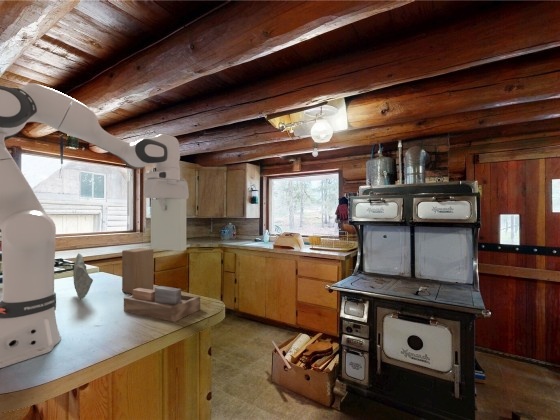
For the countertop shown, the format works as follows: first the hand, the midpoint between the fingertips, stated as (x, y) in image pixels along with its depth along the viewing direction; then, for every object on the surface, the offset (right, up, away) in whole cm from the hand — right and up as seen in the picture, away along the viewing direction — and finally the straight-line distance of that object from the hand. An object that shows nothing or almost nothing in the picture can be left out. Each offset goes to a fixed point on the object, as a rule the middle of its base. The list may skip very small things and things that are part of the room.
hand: (168, 210), depth 112 cm
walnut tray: (-1, -39, -3) cm, 39 cm away
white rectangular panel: (0, -16, 0) cm, 16 cm away
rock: (-42, -39, +10) cm, 59 cm away
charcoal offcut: (+3, -39, -8) cm, 40 cm away
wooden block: (-24, -39, +24) cm, 52 cm away
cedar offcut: (-8, -39, -3) cm, 40 cm away
